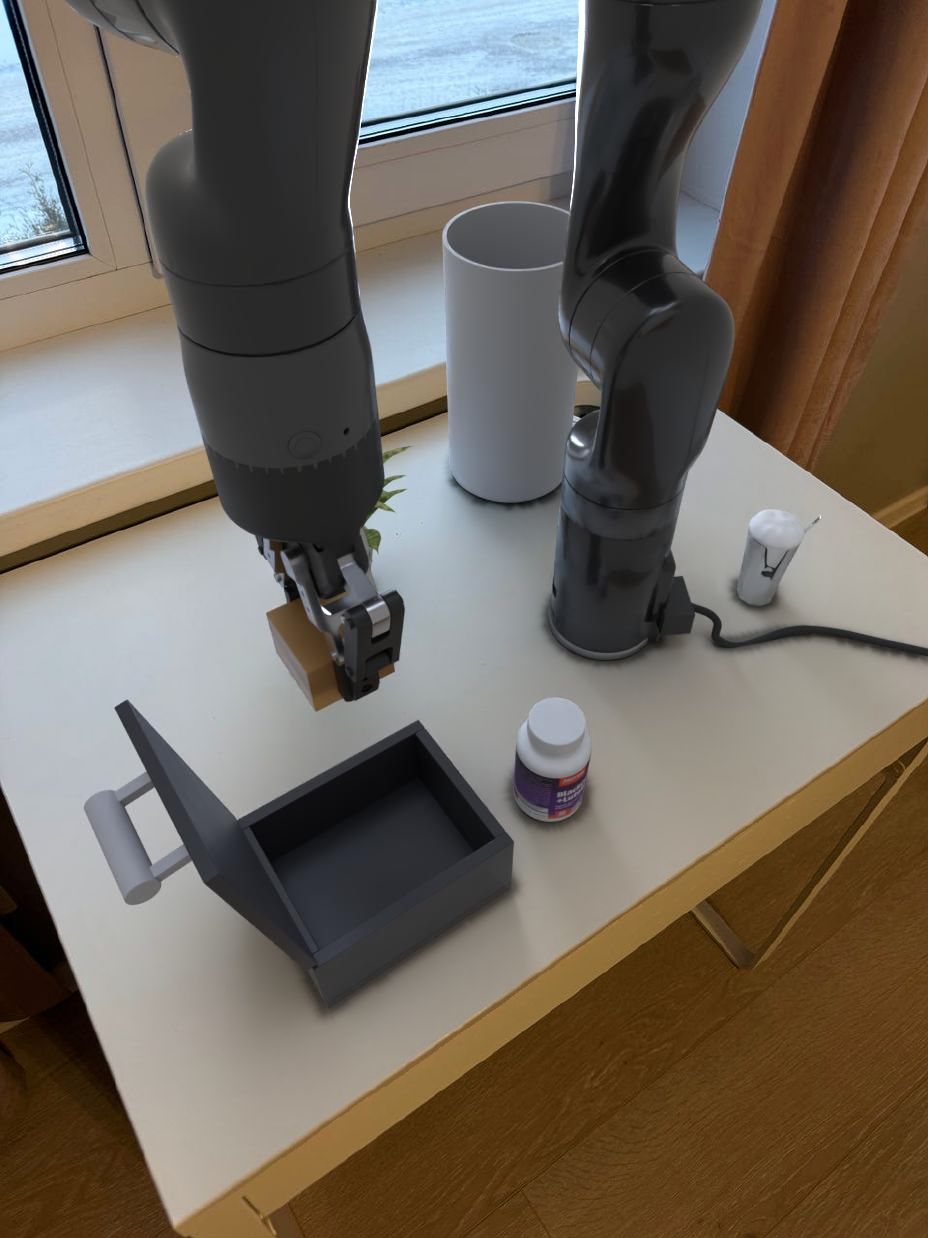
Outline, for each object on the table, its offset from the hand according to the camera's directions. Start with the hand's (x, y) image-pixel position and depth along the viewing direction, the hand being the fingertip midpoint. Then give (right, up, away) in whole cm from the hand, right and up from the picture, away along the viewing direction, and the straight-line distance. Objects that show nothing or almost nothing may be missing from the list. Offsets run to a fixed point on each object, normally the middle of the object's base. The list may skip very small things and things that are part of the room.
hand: (335, 656), depth 50 cm
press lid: (-6, -10, 0) cm, 12 cm away
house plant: (-3, +4, +32) cm, 33 cm away
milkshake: (+34, +4, +32) cm, 47 cm away
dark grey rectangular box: (+1, -16, +14) cm, 22 cm away
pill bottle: (+14, -11, +19) cm, 26 cm away
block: (0, 0, 0) cm, 0 cm away
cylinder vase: (+12, +18, +44) cm, 49 cm away
